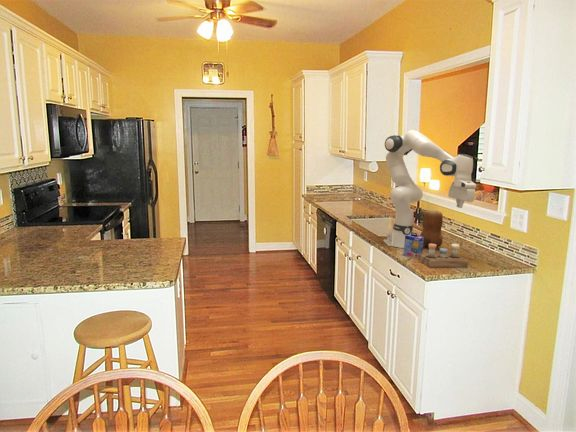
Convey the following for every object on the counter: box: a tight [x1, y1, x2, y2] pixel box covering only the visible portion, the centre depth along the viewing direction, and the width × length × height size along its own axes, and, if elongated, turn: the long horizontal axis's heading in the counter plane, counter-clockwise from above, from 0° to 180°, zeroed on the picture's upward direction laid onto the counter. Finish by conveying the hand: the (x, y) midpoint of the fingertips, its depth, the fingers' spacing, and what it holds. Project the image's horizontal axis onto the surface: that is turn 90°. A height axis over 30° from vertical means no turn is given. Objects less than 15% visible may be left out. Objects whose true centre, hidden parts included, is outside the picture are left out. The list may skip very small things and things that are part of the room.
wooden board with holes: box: [417, 253, 469, 269], centre depth 241 cm, size 14×22×4 cm, turn 101°
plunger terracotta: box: [427, 243, 437, 257], centre depth 239 cm, size 4×4×7 cm
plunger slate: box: [439, 247, 448, 258], centre depth 240 cm, size 4×4×7 cm
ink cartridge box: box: [403, 231, 424, 259], centre depth 255 cm, size 10×6×14 cm, turn 51°
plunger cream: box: [450, 243, 460, 257], centre depth 241 cm, size 4×4×7 cm
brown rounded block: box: [419, 209, 444, 249], centre depth 277 cm, size 14×13×25 cm
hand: (459, 207), depth 246 cm, fingers closed
